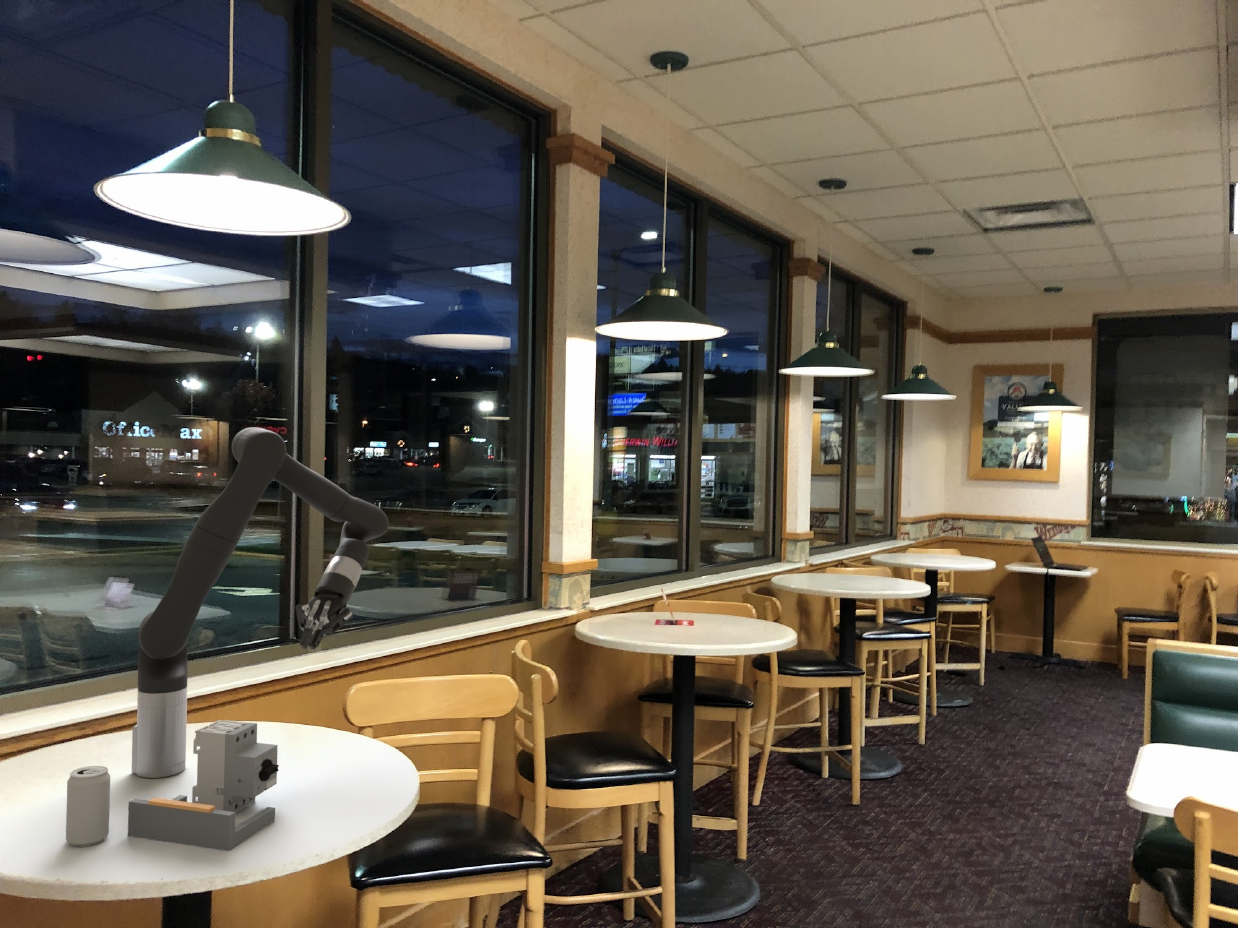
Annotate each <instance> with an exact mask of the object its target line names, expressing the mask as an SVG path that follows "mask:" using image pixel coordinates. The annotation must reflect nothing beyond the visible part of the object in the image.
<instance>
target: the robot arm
mask: <svg viewBox="0 0 1238 928" xmlns="http://www.w3.org/2000/svg"><path fill="white" fill-rule="evenodd" d="M231 453H232V455H233V457H234V459H235V460H236V461H237V465H236V468H235V470H234V472H233V474H232V475H231V478H230V480H229V482H228V483H227V485H226V487H225V488H224V489H223V491H222V492H221V493H219V495H218V496H217V497H216V498H215V499H214V500H213V501H212V502H210V504H209V505H208V507H206V508H205V510H204V511H203V512H202V513H201V515H200V516H199V517H198V519H197V521H196V522H195V524H194V526H193V527H192V530H191V532H190V533H189V535H188V537H187V538H186V541H185V544H184V546H183V548H182V550H181V553H180V555H179V557H178V560H177V563H176V567H175V569H174V572H173V575H172V578H171V581H170V583H169V586H168V587H167V590H166V592H165V593H164V595H163V596H162V598H161V599H160V601H159V603H158V605H157V606H156V607H155V609H154V610H153V611H151V612H149V613H148V614H147V615H146V616H145V617H144V618H143V619H142V621H141V622H140V625H139V629H138V652H137V653H138V657H137V659H138V661H137V707H136V708H137V710H136V711H137V716H136V724H135V725H133V727H132V734H131V736H132V738H131V740H132V741H131V773H132V774H135V775H137V776H139V777H141V778H148V779H156V778H157V779H158V778H166V777H169V776H174V775H178V774H180V773H181V772H183V771H185V769H186V758H187V757H186V756H187V721H188V720H187V717H188V715H187V714H188V713H187V710H188V648H189V647H188V645H189V644H188V643H189V642H188V641H189V638H190V635H191V633H192V629H193V627H194V624H195V622H196V620H197V617H198V614H199V612H200V609H201V608H202V605H203V603H204V601H205V600H206V598H207V596H208V595H209V593H210V591H211V590H212V588H213V587H214V585H215V584H216V582H217V581H218V579H219V578H220V575H221V574H222V572H223V571H224V569H225V568H226V565H227V564H228V562H229V560H230V559H231V558H232V555H233V553H234V551H235V549H236V547H237V545H238V544H239V542H240V539H241V537H242V535H243V533H244V531H245V529H246V528H247V525H248V523H249V522H250V520H251V519H252V518H251V517H252V515H254V514H253V513H254V511H255V510H256V507H257V505H258V503H259V501H260V500H261V498H262V496H263V494H264V493H265V491H266V490H267V488H268V486H269V485H270V484H271V482H272V481H275V482H277V483H279V484H280V485H281V486H283V487H285V488H286V489H288V490H289V491H291V492H292V493H293V494H294V495H296V496H298V497H299V498H300V499H301V500H303V502H305V503H307V504H308V505H309V506H311V507H313V508H314V509H315V510H316V511H318V513H321V514H322V515H324V516H325V517H327V518H328V519H330V520H331V521H333V522H336V523H342V522H344V524H343V525H342V528H341V529H342V530H341V534H340V540H339V545H338V547H337V549H336V552H335V553H334V555H333V557H332V559H331V560H330V562H329V563H328V565H327V567H326V568H325V571H324V573H323V575H322V577H321V578H320V580H319V583H317V586H316V588H315V590H314V595H313V597H312V598H311V599H310V600H309V601H308V603H307V604H303V605H302V604H300V603H299V604H297V605H296V606H295V611H296V618H297V625H298V626H299V628H300V630H301V631H302V633H301V636H300V637H299V640H298V643H299V646H300V647H301V648H302V649H303V650H306V649H308V647H309V648H310V650H311V651H315V650H316V649H317V648H318V647H319V646H320V644H321V642H322V640H323V638H324V637H325V636H326V635H327V634H330V635H333V634H335V633H336V632H337V631H338V630H340V628H341V629H342V627H343V626H345V625H346V624H347V623H349V621H351V619H353V616H354V615H353V613H352V611H351V609H349V608H348V607H347V605H348V603H349V601H350V600H351V597H352V596H353V593H354V591H355V589H356V587H357V585H358V583H359V580H360V579H361V578H360V577H361V574H362V571H363V569H364V567H365V564H366V563H367V561H368V559H369V556H370V555H369V554H370V549H369V546H368V545H367V544H366V543H367V542H368V541H371V540H374V539H376V538H377V539H378V538H379V537H382V536H383V535H385V534H386V533H387V532H388V529H389V527H390V522H389V518H388V516H387V515H386V514H387V513H385V512H384V511H383V509H381V508H380V507H378V506H377V505H375V504H373V503H371V502H368V501H366V500H363V499H361V498H359V497H356V496H355V497H354V496H353V495H351V494H349V493H348V492H346V490H344V489H343V488H341V487H340V486H339V485H337V484H335V482H332V481H331V480H330V479H327V477H324V476H323V475H321V474H320V473H318V472H316V471H314V470H312V469H310V468H309V467H307V466H305V465H304V464H302V463H301V462H299V461H298V460H296V459H295V458H294V457H292V456H291V455H289V454H288V453H287V445H286V442H285V440H284V438H283V437H282V436H281V435H279V434H278V433H276V432H274V431H272V430H269V429H266V428H262V427H257V426H256V427H247V428H243V429H242V430H240V431H239V432H237V433H236V434H235V436H234V437H233V439H232V442H231Z"/></svg>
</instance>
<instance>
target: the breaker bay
mask: <svg viewBox="0 0 1238 928" xmlns="http://www.w3.org/2000/svg"><path fill="white" fill-rule="evenodd" d="M127 808H128V810H127V812H128V813H127V817H128V818H127V819H128V820H127V821H128V822H127V837H132V838H139V839H143V840H144V839H145V840H152V841H159V842H165V843H166V842H167V843H173V844H180V845H185V846H186V845H187V846H193V847H199V848H206V849H213V850H220V851H228V852H230V851H231V850H233V849H235V848H236V847H238V846H239V845H241V844H242V843H243V842H245V841H247V840H248V839H251V838H252V837H253V836H255V835H256V834H258V833H259V832H261V831H262V830H264V829H266V828H267V827H268V826H270V825H272V824H274V823H275V822H276V807H272V806H266V807H265V808H264V809H261V810H260V811H258V812H256V813H255V814H254V815H252V816H250V817H248V818H247V819H245V820H244V821H243V822H241V823H239V824H237V825H236V813H235V812H230V811H223V810H216V809H215V806H213V805H206V804H198V803H192V801H191V802H190V801H188V795H183V794H179V795H177V796H176V797H173V798H171V799H169V798H167V799H166V798H161V797H153V798H151V799H143V798H133V799H131V800H129V801H128V807H127ZM274 821H275V822H274ZM271 823H272V824H271Z"/></svg>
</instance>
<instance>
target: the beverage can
mask: <svg viewBox="0 0 1238 928" xmlns="http://www.w3.org/2000/svg"><path fill="white" fill-rule="evenodd" d="M69 776H70V777H69V778H68V779H67V780H66V813H65V814H66V815H65V816H66V819H65V820H66V821H65V823H66V824H65V841H66V843H67V844H70V845H71V846H73V847H82V848H83V847H90V845H91V846H95V845H98V844H99V843H101V842H104V840H105V838H107V837H108V836H109V834H110V805H111V804H110V802H111V801H110V797H111V775H110V773H109V768H108V767H106V766H103V765H89V766H83V767H78V768H76V769H73V770H72V771H70V773H69Z"/></svg>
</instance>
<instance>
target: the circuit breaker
mask: <svg viewBox="0 0 1238 928" xmlns="http://www.w3.org/2000/svg"><path fill="white" fill-rule="evenodd" d="M194 734H195V737H194V738H193V752H192V753H193V754H194V755H197V762H196V763H197V765H196V766H197V767H196V769H197V770H196V771H197V772H196V774H197V775H196V785H193V786H192V794H191V795H192V797H191V798H192V799H191V803H198V804H206V805H213V806H215V809H216V810H223V811H230V812H235V814H237V813H238V812H241V810H243V809H245V808H246V807H249V805H251V804H253V803H254V802H256V798H257V796H260V795H261V794H262V793H264V792H265V791H267V790H269V789H271V788H272V787H274V786H275V785H277V784H278V781H277V780H278V772H279V766H280V764H278V744H274V743H273V744H271V743H265V742H264V743H261V742H258V741H257V740H258V723H257V722H248V721H247V722H246V721H239V720H238V721H237V720H227V719H226V720H225V719H224V720H222V719H218V720H216V721H214V722H212V723H210V724H209V725H206V726H203V727H201V728H199V729H197V730H195V731H194ZM197 747H199V748H197ZM196 798H197V800H196ZM243 801H245V802H243Z"/></svg>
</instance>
